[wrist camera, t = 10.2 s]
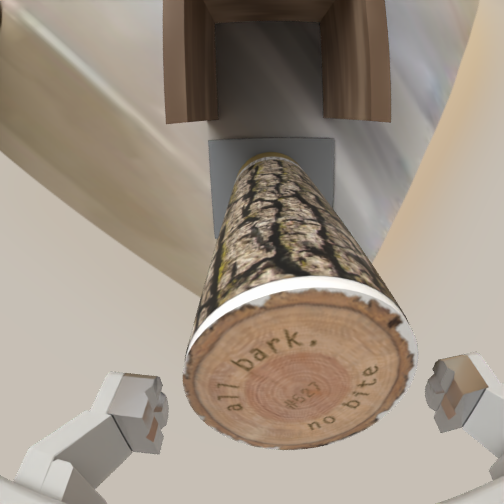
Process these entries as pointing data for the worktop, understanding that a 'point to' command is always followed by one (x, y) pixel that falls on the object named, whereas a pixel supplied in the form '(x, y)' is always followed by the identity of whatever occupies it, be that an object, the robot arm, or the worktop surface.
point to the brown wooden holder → (280, 9)
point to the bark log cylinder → (293, 321)
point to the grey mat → (241, 150)
